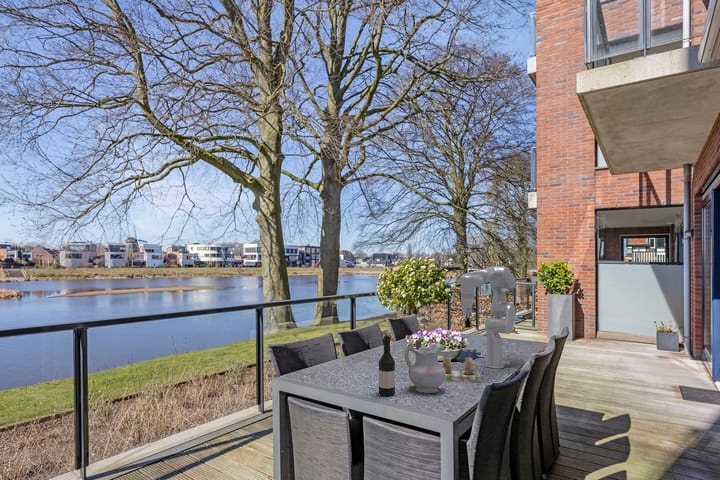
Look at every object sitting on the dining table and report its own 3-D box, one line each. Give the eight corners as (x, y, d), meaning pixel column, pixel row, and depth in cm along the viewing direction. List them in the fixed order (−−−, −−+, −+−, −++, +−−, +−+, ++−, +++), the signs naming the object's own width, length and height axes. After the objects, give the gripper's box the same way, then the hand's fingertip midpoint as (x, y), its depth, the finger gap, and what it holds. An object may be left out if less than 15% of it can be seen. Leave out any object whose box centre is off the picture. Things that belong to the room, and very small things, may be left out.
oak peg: (472, 378, 250) (472, 357, 250) (473, 380, 245) (473, 359, 246) (464, 377, 251) (464, 357, 251) (464, 380, 246) (464, 359, 247)
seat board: (478, 376, 253) (478, 356, 253) (480, 382, 241) (480, 361, 241) (437, 374, 257) (437, 354, 258) (437, 380, 245) (437, 359, 246)
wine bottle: (377, 392, 223) (377, 334, 225) (393, 391, 224) (393, 333, 225) (379, 397, 215) (379, 336, 216) (396, 396, 215) (396, 336, 217)
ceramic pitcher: (415, 399, 214) (418, 350, 214) (397, 386, 232) (399, 340, 231) (451, 394, 223) (453, 347, 222) (431, 382, 241) (433, 338, 240)
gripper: (460, 295, 263) (460, 325, 262) (461, 297, 248) (462, 329, 248) (473, 295, 262) (473, 325, 261) (475, 297, 247) (475, 329, 246)
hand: (467, 327), depth 254 cm, fingers closed
